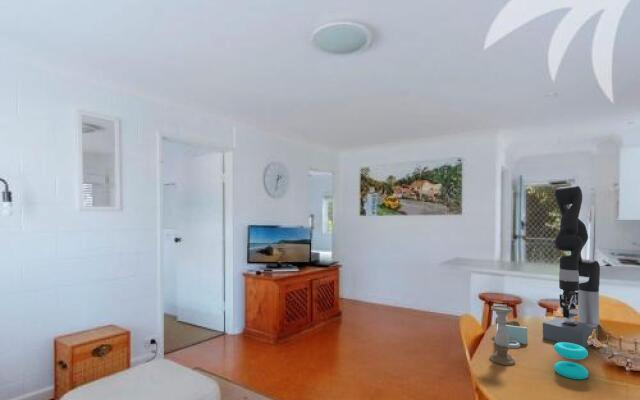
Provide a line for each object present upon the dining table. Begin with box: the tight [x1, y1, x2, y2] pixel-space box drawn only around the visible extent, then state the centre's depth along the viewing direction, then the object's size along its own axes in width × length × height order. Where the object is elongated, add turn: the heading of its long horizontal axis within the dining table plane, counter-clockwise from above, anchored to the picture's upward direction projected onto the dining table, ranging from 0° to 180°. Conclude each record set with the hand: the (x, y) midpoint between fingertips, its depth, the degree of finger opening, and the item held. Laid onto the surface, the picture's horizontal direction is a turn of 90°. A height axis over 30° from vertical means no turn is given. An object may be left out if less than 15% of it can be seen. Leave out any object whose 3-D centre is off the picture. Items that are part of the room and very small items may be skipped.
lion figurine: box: [495, 316, 521, 327], centre depth 173 cm, size 15×5×9 cm, turn 110°
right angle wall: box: [496, 324, 529, 350], centre depth 159 cm, size 12×12×8 cm
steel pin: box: [560, 306, 578, 327], centre depth 167 cm, size 6×6×8 cm
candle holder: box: [489, 305, 516, 366], centre depth 142 cm, size 9×9×20 cm
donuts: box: [553, 342, 589, 380], centre depth 130 cm, size 10×10×10 cm
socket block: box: [542, 316, 599, 349], centre depth 167 cm, size 16×16×7 cm
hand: (569, 316), depth 167 cm, fingers closed on steel pin, 6 cm apart
